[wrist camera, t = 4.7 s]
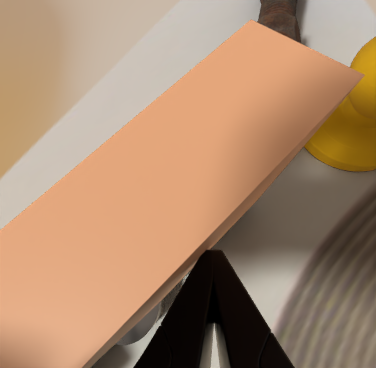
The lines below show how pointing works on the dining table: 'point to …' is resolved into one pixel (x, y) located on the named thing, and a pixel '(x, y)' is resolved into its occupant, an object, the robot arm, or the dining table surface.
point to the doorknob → (351, 122)
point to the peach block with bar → (158, 198)
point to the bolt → (280, 17)
